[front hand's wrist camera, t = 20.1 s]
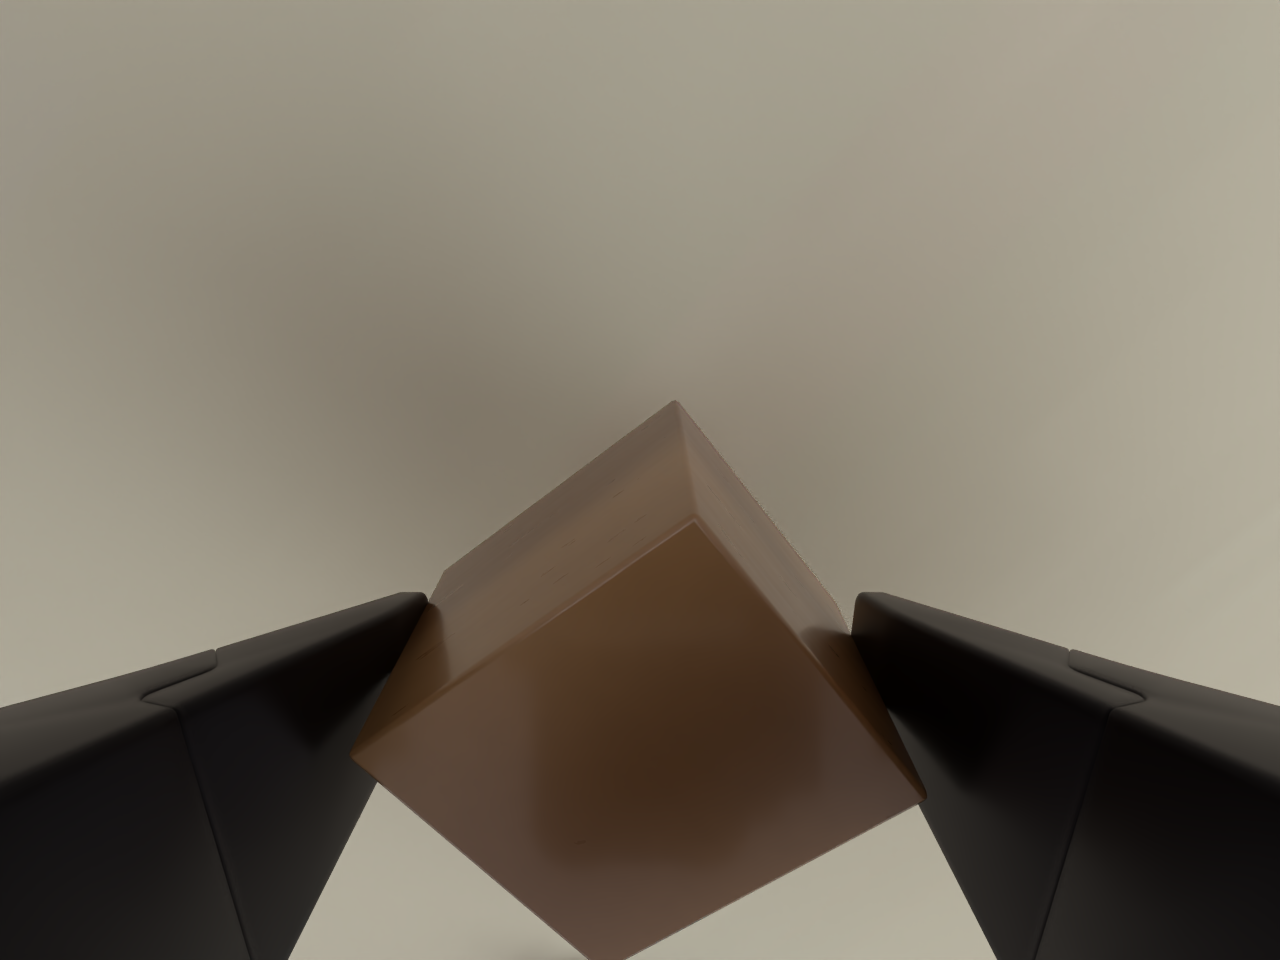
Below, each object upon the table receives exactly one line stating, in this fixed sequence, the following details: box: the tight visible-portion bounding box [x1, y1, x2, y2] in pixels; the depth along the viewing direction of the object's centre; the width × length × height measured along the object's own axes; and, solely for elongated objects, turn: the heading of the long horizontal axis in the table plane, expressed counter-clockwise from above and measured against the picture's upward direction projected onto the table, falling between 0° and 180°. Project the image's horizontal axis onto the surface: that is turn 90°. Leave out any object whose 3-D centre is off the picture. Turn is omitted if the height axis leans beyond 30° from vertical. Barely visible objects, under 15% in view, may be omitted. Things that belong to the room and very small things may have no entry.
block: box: [349, 400, 927, 960], centre depth 10 cm, size 5×5×4 cm
